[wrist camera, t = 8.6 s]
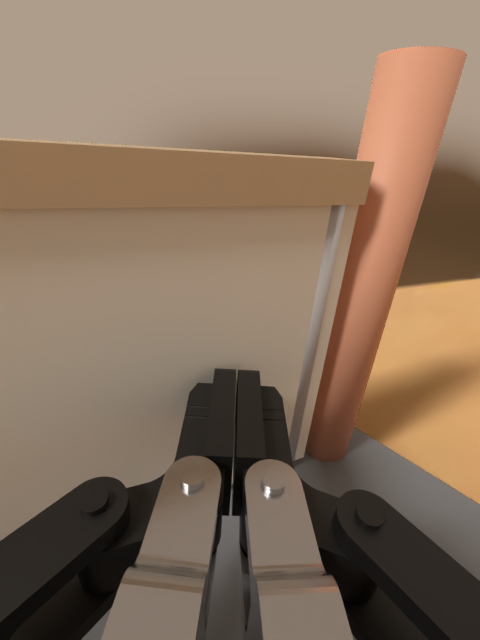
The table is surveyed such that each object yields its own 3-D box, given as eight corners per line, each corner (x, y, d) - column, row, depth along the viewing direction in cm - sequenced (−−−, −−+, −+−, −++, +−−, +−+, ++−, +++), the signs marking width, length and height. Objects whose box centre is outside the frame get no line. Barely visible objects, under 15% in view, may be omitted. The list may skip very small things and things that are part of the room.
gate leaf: (-87, 612, 10) (-509, 110, 4) (-67, 546, 11) (-345, 117, 6) (306, 461, 16) (374, 161, 10) (284, 430, 17) (330, 157, 11)
